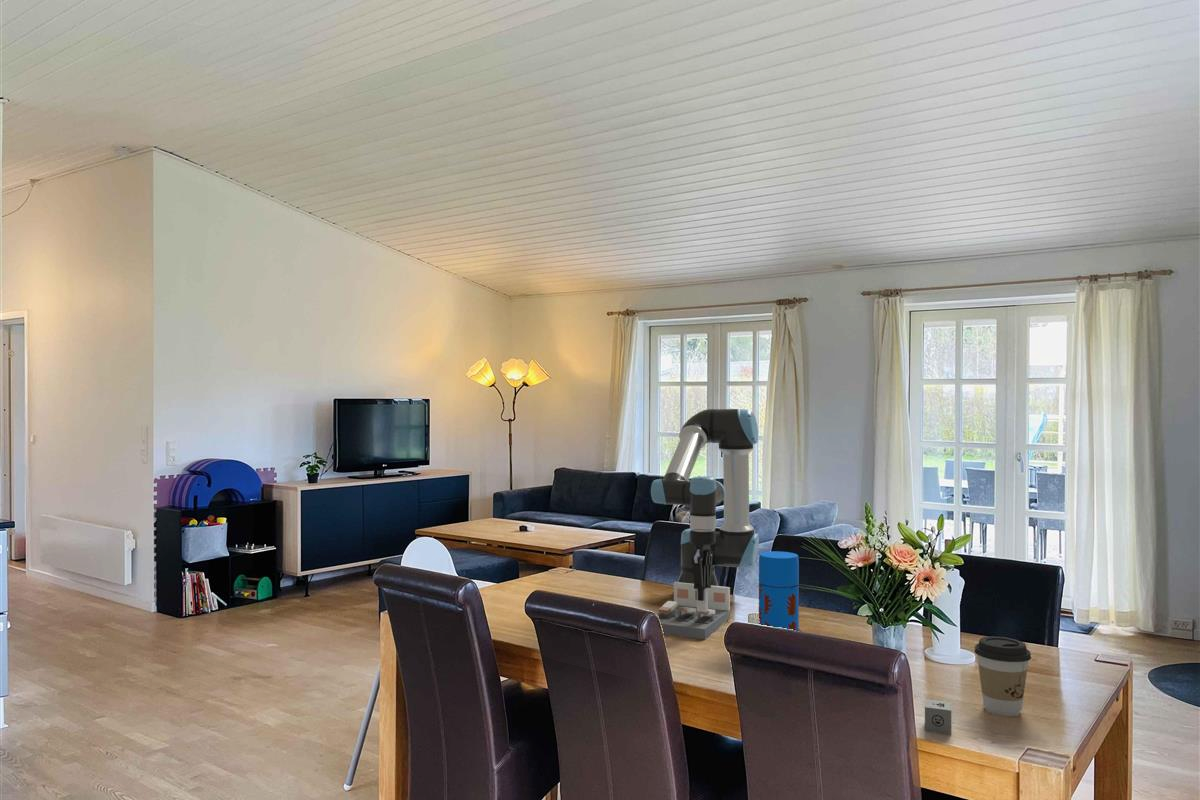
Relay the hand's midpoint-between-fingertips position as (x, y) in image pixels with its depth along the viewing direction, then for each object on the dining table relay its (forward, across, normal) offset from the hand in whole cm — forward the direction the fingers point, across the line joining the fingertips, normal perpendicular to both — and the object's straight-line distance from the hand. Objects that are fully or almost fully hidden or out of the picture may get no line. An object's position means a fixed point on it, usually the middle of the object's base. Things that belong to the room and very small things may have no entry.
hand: (702, 610), depth 246 cm
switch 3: (+1, -4, 0) cm, 4 cm away
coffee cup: (+7, +30, +79) cm, 85 cm away
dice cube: (+8, +47, +67) cm, 82 cm away
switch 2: (+1, -4, -6) cm, 7 cm away
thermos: (+7, +2, +23) cm, 24 cm away
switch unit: (+6, -6, -6) cm, 10 cm away
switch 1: (+1, -4, -12) cm, 13 cm away
